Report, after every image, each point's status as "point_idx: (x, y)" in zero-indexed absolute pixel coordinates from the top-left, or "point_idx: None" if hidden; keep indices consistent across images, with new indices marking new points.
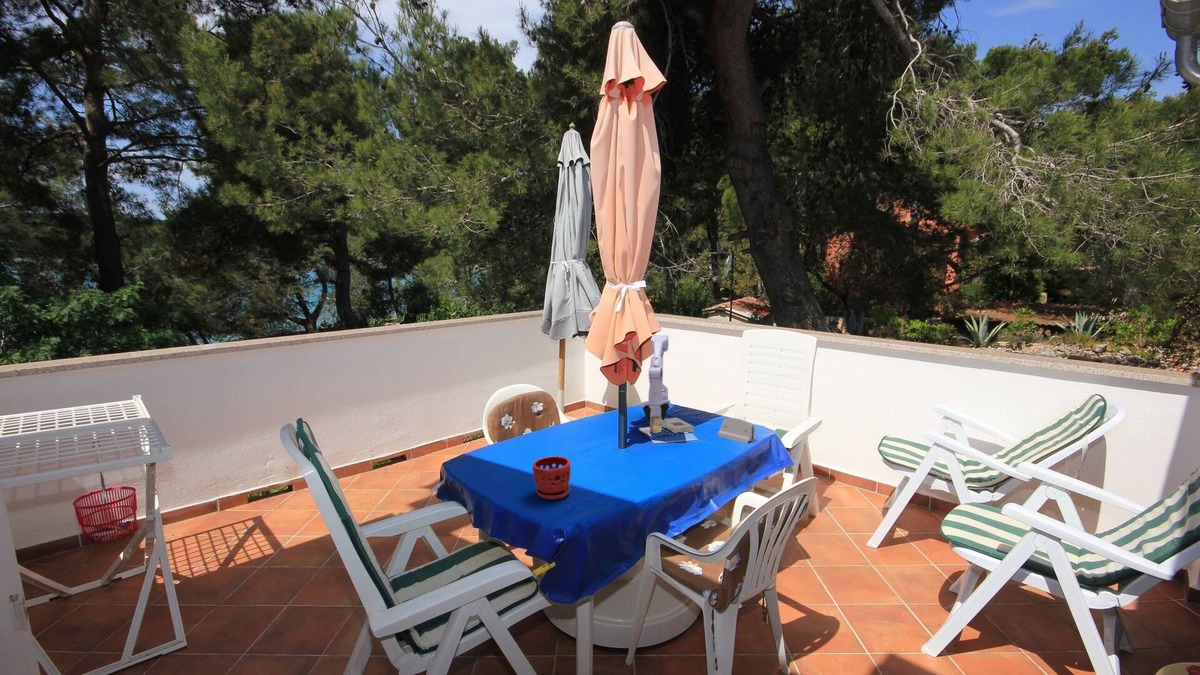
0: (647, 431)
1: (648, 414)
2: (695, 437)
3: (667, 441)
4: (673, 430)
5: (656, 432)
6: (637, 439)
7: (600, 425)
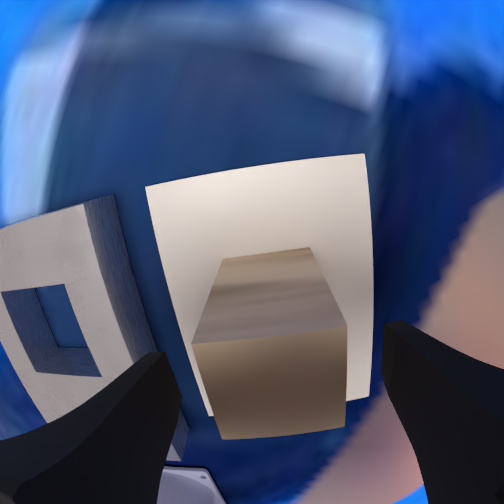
0: (344, 316)
1: (478, 367)
2: (7, 110)
3: (242, 22)
4: (103, 225)
5: (279, 253)
6: (474, 159)
7: None
